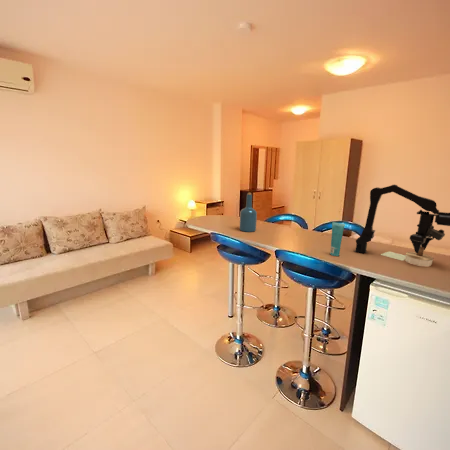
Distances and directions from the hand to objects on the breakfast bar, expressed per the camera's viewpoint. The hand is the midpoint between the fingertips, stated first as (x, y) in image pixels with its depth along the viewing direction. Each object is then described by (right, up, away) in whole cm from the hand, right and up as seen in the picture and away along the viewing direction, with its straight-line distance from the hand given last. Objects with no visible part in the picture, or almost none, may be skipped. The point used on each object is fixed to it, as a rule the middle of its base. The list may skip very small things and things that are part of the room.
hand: (420, 251), depth 142 cm
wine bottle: (-88, +10, +67) cm, 111 cm away
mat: (-6, -4, +12) cm, 14 cm away
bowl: (0, -7, +1) cm, 7 cm away
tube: (-41, -3, +12) cm, 43 cm away
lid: (0, -3, +1) cm, 3 cm away
